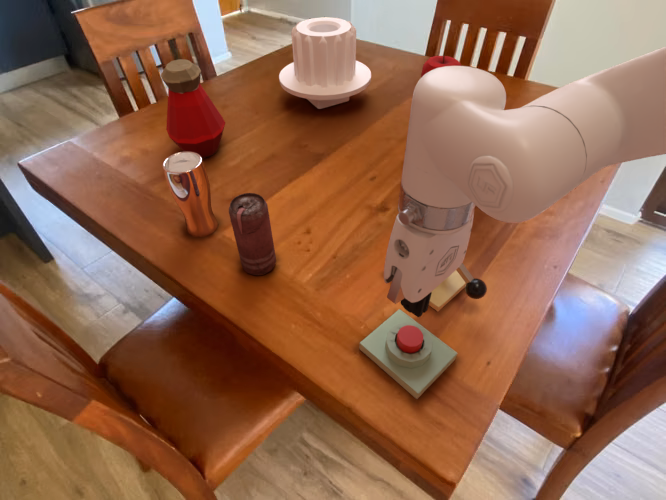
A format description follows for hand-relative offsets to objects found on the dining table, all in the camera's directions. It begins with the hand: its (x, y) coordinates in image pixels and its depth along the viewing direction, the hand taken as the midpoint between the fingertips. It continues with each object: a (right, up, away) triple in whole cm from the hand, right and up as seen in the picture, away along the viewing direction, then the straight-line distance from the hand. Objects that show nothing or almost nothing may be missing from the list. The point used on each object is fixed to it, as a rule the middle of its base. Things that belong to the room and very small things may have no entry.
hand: (413, 307), depth 56 cm
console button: (0, -6, +5) cm, 8 cm away
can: (-24, +5, +21) cm, 32 cm away
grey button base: (0, -8, +8) cm, 11 cm away
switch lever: (+8, +5, +12) cm, 15 cm away
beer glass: (-36, +12, +28) cm, 47 cm away
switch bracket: (+6, +3, +18) cm, 19 cm away
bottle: (-42, +32, +48) cm, 72 cm away
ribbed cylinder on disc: (-13, +50, +66) cm, 84 cm away
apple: (+18, +47, +61) cm, 79 cm away
